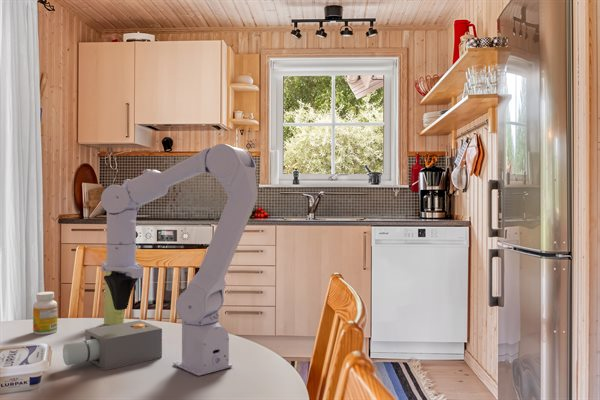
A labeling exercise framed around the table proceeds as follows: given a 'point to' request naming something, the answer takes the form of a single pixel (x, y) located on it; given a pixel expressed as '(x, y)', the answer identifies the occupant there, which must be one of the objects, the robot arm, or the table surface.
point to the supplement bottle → (45, 314)
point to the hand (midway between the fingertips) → (120, 309)
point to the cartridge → (81, 351)
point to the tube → (111, 308)
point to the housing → (126, 344)
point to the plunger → (138, 326)
